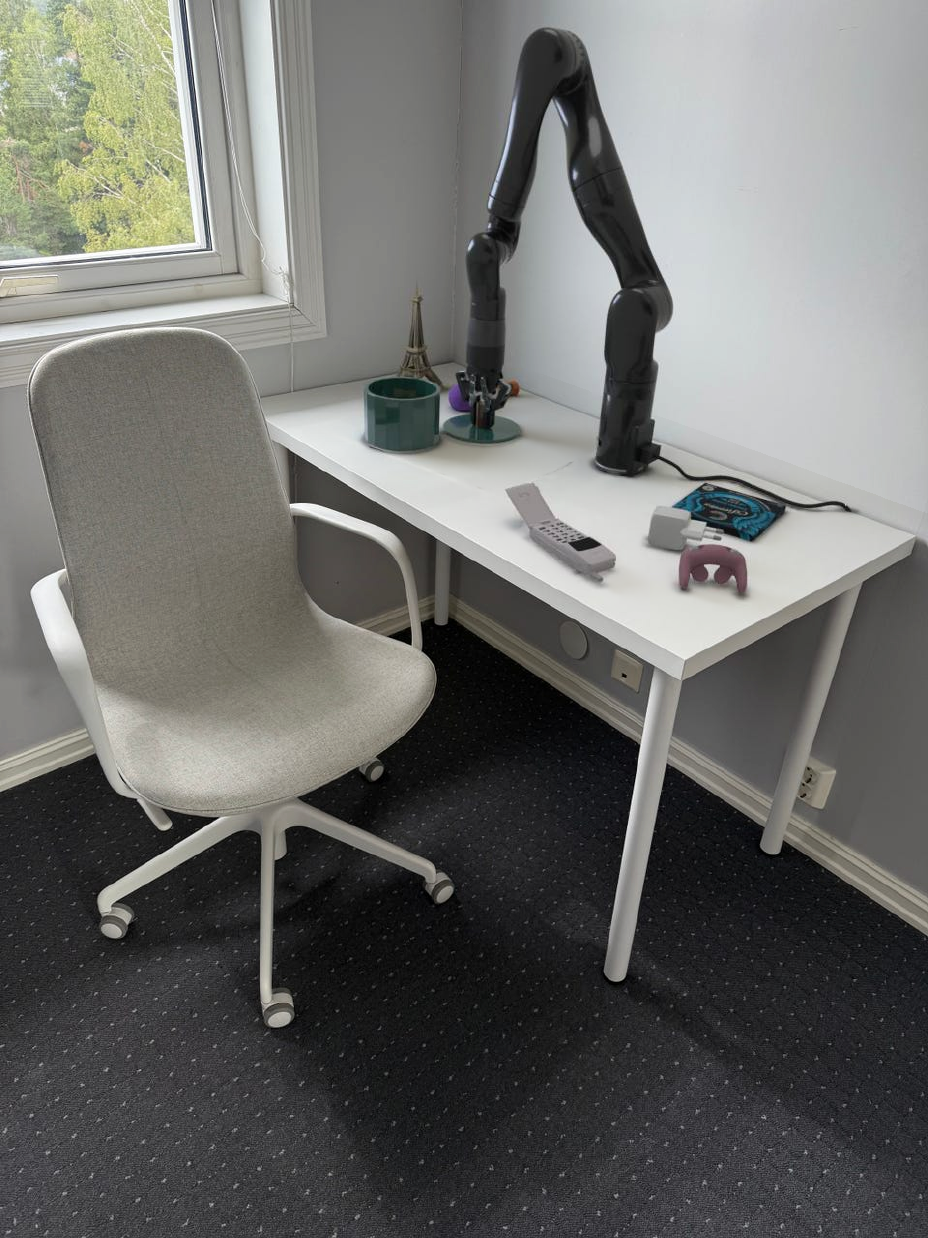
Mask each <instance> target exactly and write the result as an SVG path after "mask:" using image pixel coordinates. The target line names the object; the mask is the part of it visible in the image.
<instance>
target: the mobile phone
mask: <svg viewBox="0 0 928 1238" xmlns="http://www.w3.org/2000/svg"><path fill="white" fill-rule="evenodd" d="M504 491H505V492H506V494H507V497H508V498H509V499H510V501H511V503H512V504H513V506H514V508H515V509H516V511H517V512H518V514H519V515H520V517H521V519H522V520H523V521H524V523H525V524H526V526H527V528H528V530H529V531H528V533H529V537H530V539H531V540H533V541H534V542H536V543H537V544H538V545H540V546H541V547H542V548H543V549H545V550H546V551H548V552H549V553H551V554H552V555H553V556H555V557H556V558H558V559H559V560H561V561H563V562H564V563H566V564H567V565H568V566H569V567H571V568H573V570H576V571H577V572H580V573H582V574H585V575H587V576H588V577H589V578H592V579H593V580H595V581H597V582H599V583H602V582H603V581H604V578H603V577H602V576H601V575H600V574H599V573H601V572H604V571H608V570H611V569H614V568H615V566H616V561H617V555H616V554H615V552H613V551H611V550H610V549H609V548H608V547H607V546H606V545H604V544H603V543H602V542H600V541H598V540H597V539H596V538H594V537H592V536H588V535H587V534H585V533H583V532H582V531H580V530H578V529H576V528H574V527H572V526H571V525H570V524H567V523H566V522H564V521H563V520H560V518H558V517H557V518H556V516H555V515H554V513H553V511H552V510H551V509H550V506H549V505H548V503H547V502H546V500H545V498H544V496H543V495H542V493H541V490H540V488H539V487H538V486H537V485H536V484H535V483H534V482H530V483H524V484H519V485H514V486H512V487H509V488H505V489H504Z"/></svg>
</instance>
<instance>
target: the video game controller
mask: <svg viewBox="0 0 928 1238" xmlns="http://www.w3.org/2000/svg"><path fill="white" fill-rule="evenodd" d="M705 565H712V566H713V565H714V566H719V567H718V568H717V569H716V570H715V571H714V572H713V573H714V574H713V579H714V581H715V582H716V583H717V584H719V585H725V584H727V583H728V582H729V581H730V579H731V578H732V577H734V579H735V585H736V588H737V592H738V593H739V595H744V594H745V592H746V590H747V587H748V567H747V560H746V558H745V556H744V555H743V553H741V552H740V551H739V550H737V549H735V548H732V547H729V546H726V545H722V544H715V543H714V544H713V543H709V544H706V543H704V544H697V545H692V546H690V547H687V548H685V549H684V550H682V552H681V554H680V557H679V564H678V583H679V587H680V589H681V590H682V591H685V590H686V591H687V588H688V586H689V584H690V580H691V577H692V579H693V581H695V582H697V583H704V582H706V581H707V580H708V579H709V575H710V574H709V569H708V568H707V567H706V566H705Z"/></svg>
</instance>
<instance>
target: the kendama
mask: <svg viewBox="0 0 928 1238" xmlns="http://www.w3.org/2000/svg"><path fill="white" fill-rule="evenodd" d="M507 383H508V384H510V383H512V384H513V386H514V388H513V390H512V392H511V394H510V396H518V394H519V393H520V389H521V388H520V384H519V382H517V381H516V380H511V381H508V382H507ZM497 388H498V389H499V386H498V387H497ZM466 392H467V390H466ZM498 393H499V391H498ZM488 394H491V393H488ZM467 395H468V393H467ZM510 396H509V397H510ZM481 401H483V399H481ZM448 402H449V405H450V407H451V408H452V409H453V410H455V411H457V412H468V411H470V405H469V403H468V402H467V401H466V402H464V401H463V399H462V396H461V393H460V389H459V386H458V383H456V384H455V385H454V386H453V387H452V388H450V390H449V392H448Z"/></svg>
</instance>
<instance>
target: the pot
mask: <svg viewBox="0 0 928 1238" xmlns="http://www.w3.org/2000/svg"><path fill="white" fill-rule="evenodd" d="M363 406H364V407H363V417H364V418H363V419H364V420H363V421H364V423H363V424H364V439H365V440H366V443H368V444H370V445H371V446H369V447H370V448H371V449H375V450H377V451H381V452H383V453H385V452H386V451H395V452H413V451H418V450H426V449H428V448H431V447H433V446H435V445H436V444H437V443H439V442H440V429H441V428H440V426H441V425H440V423H441V422H440V420H441V391H440V387H439V386H438V385H437V384H436V383H433V382H431V381H429V380H428V379H425V378H422V379H420V378H413V377H395V376H388V377H387V376H386V377H381V378H376V379H373V380H370V381H368V382H367V383H365V384H364V387H363ZM384 450H386V451H384Z"/></svg>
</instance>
